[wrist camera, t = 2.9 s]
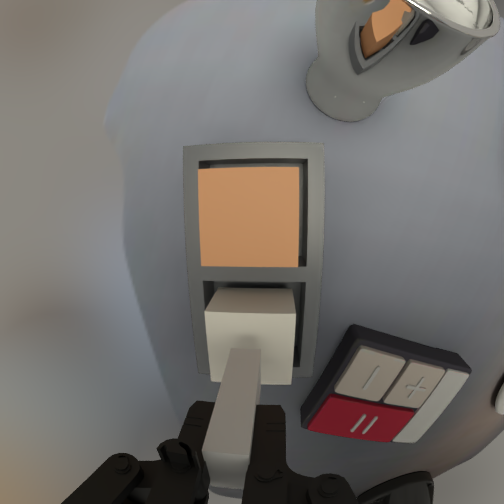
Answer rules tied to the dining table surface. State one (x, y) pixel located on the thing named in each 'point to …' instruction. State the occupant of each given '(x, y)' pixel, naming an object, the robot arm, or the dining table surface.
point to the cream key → (252, 330)
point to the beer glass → (390, 48)
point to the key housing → (296, 278)
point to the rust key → (249, 216)
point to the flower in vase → (500, 401)
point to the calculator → (383, 388)
